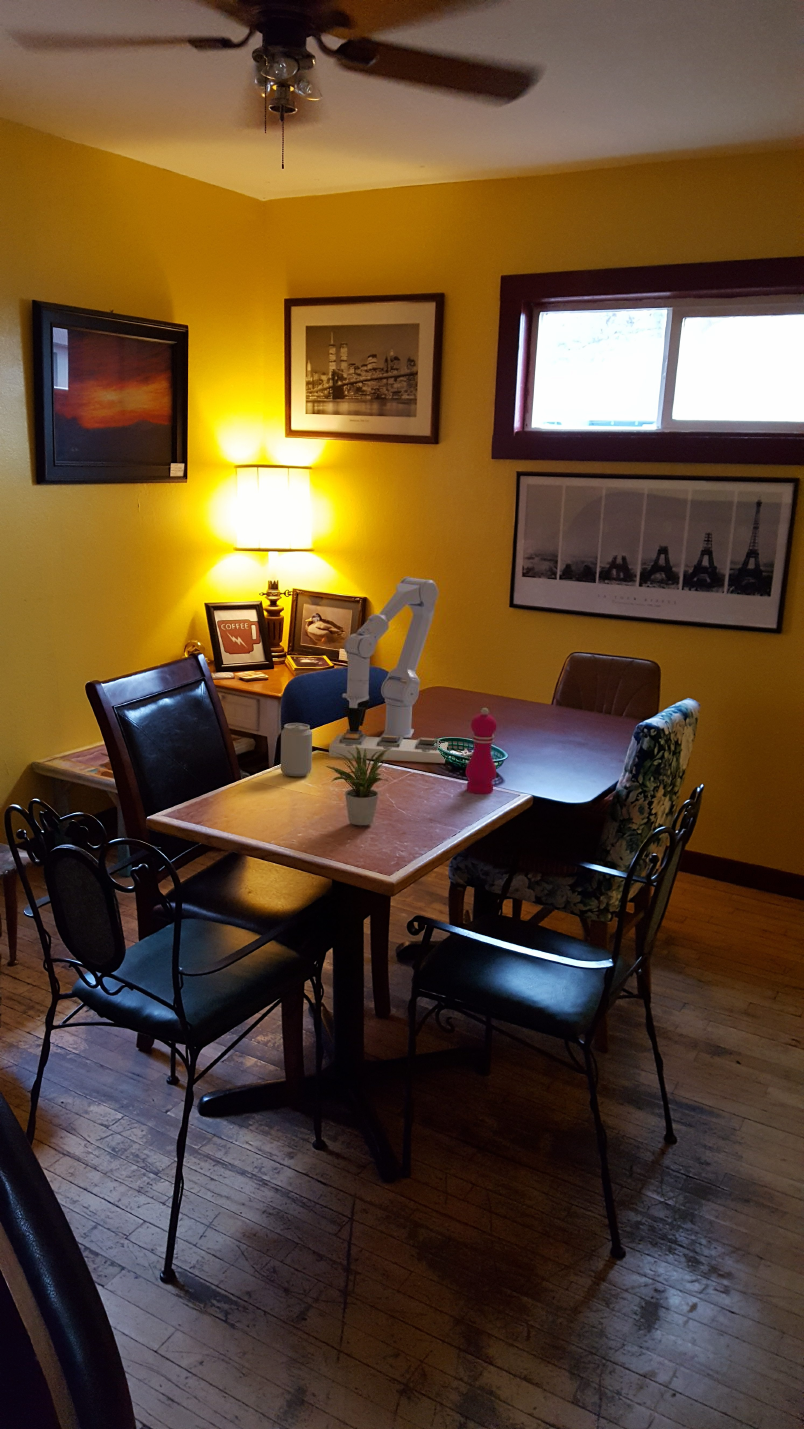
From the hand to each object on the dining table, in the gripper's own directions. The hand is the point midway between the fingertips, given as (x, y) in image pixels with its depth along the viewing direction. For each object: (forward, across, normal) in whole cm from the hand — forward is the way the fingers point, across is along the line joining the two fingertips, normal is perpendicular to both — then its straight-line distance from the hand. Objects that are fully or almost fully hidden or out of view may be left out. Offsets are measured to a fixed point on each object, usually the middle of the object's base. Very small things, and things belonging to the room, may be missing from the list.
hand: (356, 728), depth 276 cm
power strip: (+5, +7, +10) cm, 13 cm away
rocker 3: (0, +6, +20) cm, 21 cm away
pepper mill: (+5, +33, +35) cm, 48 cm away
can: (+5, +30, -10) cm, 32 cm away
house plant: (+5, +60, +11) cm, 62 cm away
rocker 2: (0, +6, +10) cm, 12 cm away
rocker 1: (0, +6, 0) cm, 6 cm away
